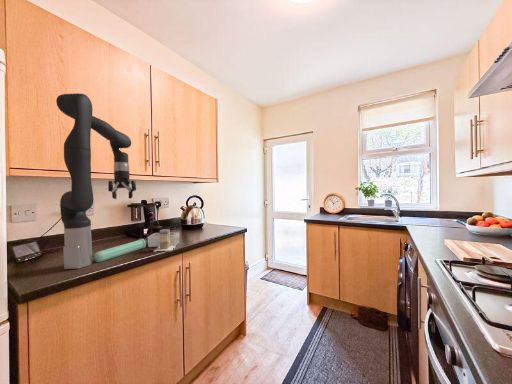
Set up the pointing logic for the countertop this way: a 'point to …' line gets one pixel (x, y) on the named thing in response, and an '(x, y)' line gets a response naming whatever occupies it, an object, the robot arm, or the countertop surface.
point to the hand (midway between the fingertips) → (122, 198)
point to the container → (119, 250)
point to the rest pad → (164, 249)
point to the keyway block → (155, 239)
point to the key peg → (164, 238)
